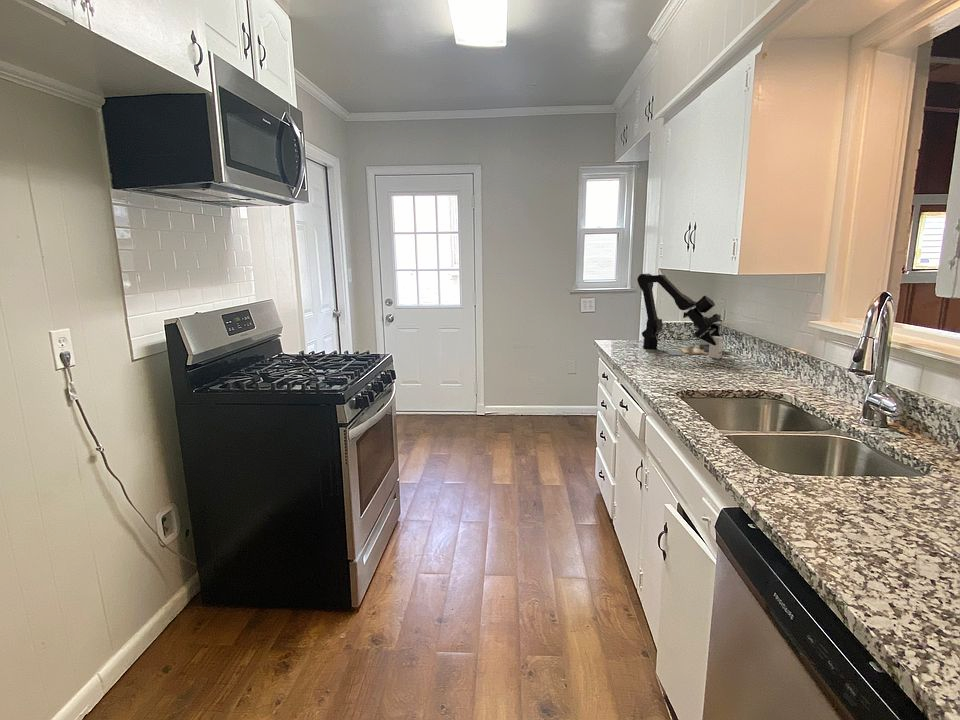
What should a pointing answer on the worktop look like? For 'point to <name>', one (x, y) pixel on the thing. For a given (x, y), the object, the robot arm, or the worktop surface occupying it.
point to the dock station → (696, 349)
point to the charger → (716, 347)
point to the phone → (674, 353)
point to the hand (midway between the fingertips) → (718, 343)
